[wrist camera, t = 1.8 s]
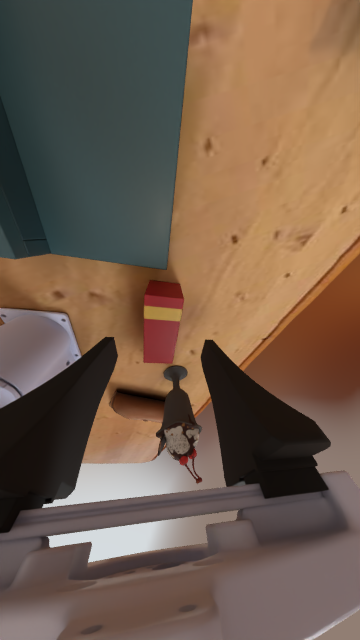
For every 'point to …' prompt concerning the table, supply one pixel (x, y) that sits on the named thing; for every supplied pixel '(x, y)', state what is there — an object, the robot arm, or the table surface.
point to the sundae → (179, 422)
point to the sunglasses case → (138, 407)
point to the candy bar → (161, 320)
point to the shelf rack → (90, 127)
